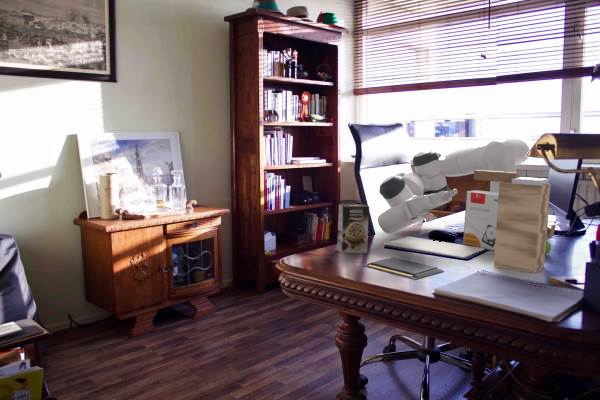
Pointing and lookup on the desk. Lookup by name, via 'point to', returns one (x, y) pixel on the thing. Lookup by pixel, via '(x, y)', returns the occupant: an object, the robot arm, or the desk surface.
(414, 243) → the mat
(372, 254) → the desk surface
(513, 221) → the stand
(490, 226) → the hard drive box
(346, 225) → the cookie box
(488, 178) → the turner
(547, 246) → the snail figurine
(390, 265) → the grey book
